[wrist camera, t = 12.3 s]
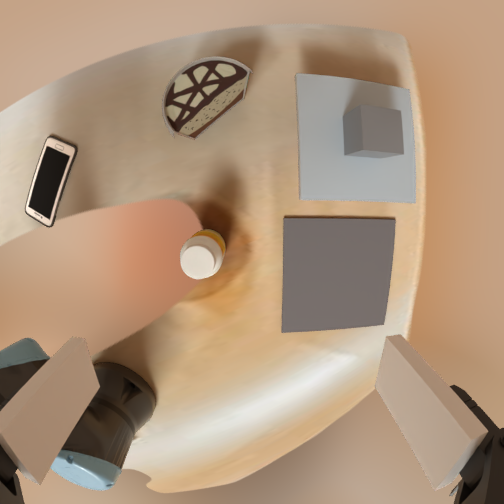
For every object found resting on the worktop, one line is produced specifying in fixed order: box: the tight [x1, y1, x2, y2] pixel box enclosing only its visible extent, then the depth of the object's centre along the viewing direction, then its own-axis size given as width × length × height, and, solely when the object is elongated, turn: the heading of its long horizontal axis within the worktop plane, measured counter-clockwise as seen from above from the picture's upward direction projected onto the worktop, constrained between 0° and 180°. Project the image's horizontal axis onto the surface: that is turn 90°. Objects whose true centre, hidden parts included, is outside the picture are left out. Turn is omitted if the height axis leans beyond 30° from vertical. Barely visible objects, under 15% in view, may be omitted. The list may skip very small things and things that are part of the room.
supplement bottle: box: [180, 229, 226, 279], centre depth 38 cm, size 5×5×10 cm
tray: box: [282, 218, 396, 333], centre depth 43 cm, size 18×18×1 cm
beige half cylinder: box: [162, 56, 253, 140], centre depth 33 cm, size 12×6×10 cm, turn 131°
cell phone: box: [25, 136, 77, 227], centre depth 39 cm, size 8×15×1 cm, turn 154°
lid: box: [295, 73, 416, 203], centre depth 29 cm, size 16×16×7 cm
